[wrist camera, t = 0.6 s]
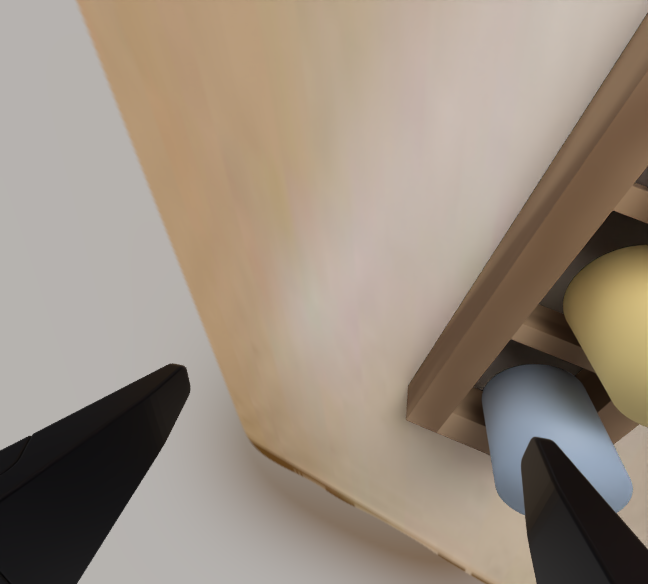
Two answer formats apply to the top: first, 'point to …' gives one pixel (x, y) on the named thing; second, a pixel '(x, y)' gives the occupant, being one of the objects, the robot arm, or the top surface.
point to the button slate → (549, 431)
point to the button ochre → (614, 325)
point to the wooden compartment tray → (544, 261)
